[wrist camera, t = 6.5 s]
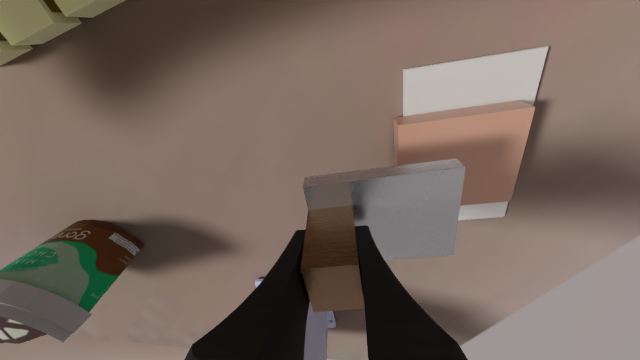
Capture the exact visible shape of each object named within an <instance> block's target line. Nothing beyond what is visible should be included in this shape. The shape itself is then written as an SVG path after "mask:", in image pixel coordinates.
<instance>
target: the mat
mask: <svg viewBox="0 0 640 360" xmlns="http://www.w3.org/2000/svg"><path fill="white" fill-rule="evenodd" d="M548 47H549V46H543V47H537V48H531V49H524V50H518V51H512V52H506V53H500V54H493V55H487V56H481V57H475V58H469V59H463V60H456V61H450V62H444V63H438V64H432V65H426V66H419V67H413V68H407V69H403V117H404V116H411V115H418V114H425V113H432V112H440V111H447V110H454V109H461V108H468V107H476V106H483V105H490V104H497V103H504V102H512V101H519V100H520V101H522V102H525V103H527V104H530V105H532V106H533V105H534V101H535V97H536V93H537V89H538V85H539V82H540V78H541V74H542V70H543V66H544V62H545V59H546V55H547V51H548ZM507 205H508V202H497V203H485V204H473V205H462V206H460V210H459V217H458V220H468V219H482V218H495V217H504V216H505V212H506V209H507Z"/></svg>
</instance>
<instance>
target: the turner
mask: <svg viewBox="0 0 640 360" xmlns="http://www.w3.org/2000/svg"><path fill="white" fill-rule="evenodd" d="M464 175H465V166H464V165H463V164H462V163H461V162H460V161H459V160H458V159H449V160H441V161H432V162H424V163H416V164H408V165H400V166H392V167H384V168H376V169H368V170H359V171H351V172H343V173H335V174H327V175H319V176H311V177H305V179H304V184H303V189H304V193H305V198H306V202H307V206H308V216H307V224H306V231H305V239H304V246H303V254H302V261H301V269H300V270H301V273H302V276H303V280H304V283H305V286H306V289H307V293H308V296H309V299H310V303H311V306H312V309H313V312H323V311H341V310H358V309H364V301H363V292H362V284H361V276H360V268H359V260H358V252H357V244H356V239H355V237H356V235H355V226H363V225H367V226H368V227H369V229H370V232H371V235H372V237H373V240H374V242H375V244H376V246H377V248H378V250H379V251H380V253H381V255H382V257H383V259H384V260H385V261H386V260H398V259H411V258H423V257H436V256H448V255H453V252H454V245H455V238H456V231H457V224H458V217H459V210H460V203H461V196H462V189H463V182H464Z"/></svg>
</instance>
